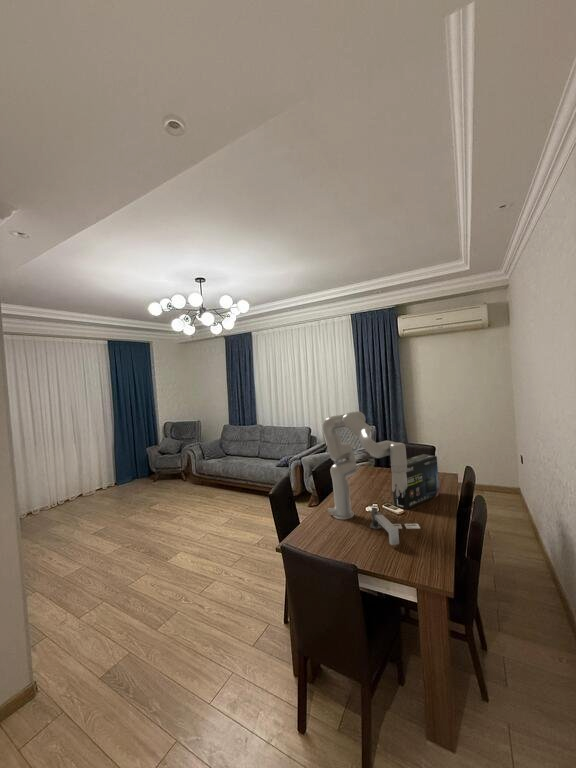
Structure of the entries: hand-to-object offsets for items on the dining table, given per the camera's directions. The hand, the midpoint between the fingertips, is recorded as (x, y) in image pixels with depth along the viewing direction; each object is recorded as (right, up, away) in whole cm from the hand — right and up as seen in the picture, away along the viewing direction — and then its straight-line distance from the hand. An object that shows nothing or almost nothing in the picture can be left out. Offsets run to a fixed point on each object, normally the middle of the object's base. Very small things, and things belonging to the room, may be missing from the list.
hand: (401, 504), depth 151 cm
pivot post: (-9, -18, +14) cm, 24 cm away
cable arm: (-7, -16, +2) cm, 18 cm away
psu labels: (+5, -17, +12) cm, 21 cm away
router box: (+27, -16, +46) cm, 56 cm away
